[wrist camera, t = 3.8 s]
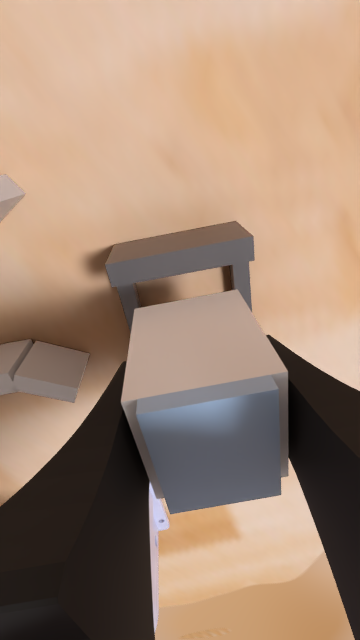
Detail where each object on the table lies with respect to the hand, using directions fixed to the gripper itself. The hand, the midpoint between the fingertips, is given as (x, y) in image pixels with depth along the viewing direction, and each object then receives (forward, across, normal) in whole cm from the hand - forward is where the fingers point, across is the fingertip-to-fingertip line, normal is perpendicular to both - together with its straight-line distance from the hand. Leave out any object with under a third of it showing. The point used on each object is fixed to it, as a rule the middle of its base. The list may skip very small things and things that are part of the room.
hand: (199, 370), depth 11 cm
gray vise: (+6, 0, +3) cm, 7 cm away
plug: (+2, 0, 0) cm, 2 cm away
